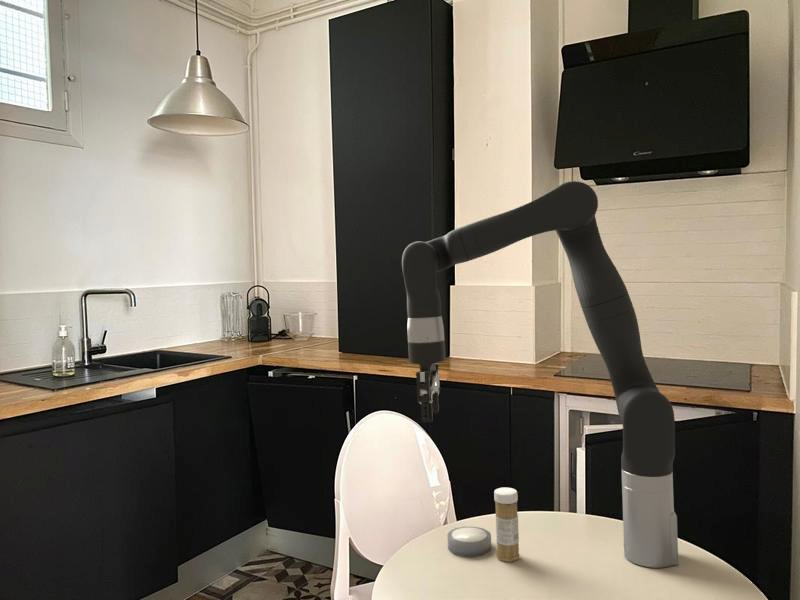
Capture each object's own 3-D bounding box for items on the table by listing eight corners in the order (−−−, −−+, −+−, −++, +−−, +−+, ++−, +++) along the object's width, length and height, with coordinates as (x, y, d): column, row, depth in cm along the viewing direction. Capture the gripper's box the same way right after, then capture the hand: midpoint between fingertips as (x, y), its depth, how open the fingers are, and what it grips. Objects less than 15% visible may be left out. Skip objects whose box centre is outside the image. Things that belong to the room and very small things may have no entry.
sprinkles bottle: (506, 550, 125) (504, 485, 124) (524, 557, 121) (522, 490, 121) (491, 557, 122) (489, 490, 121) (509, 565, 118) (506, 496, 118)
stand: (492, 539, 130) (492, 526, 130) (490, 557, 122) (489, 544, 122) (450, 537, 132) (450, 525, 132) (445, 555, 123) (444, 542, 123)
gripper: (439, 341, 118) (444, 425, 118) (448, 335, 132) (452, 410, 132) (401, 343, 120) (406, 425, 120) (414, 336, 134) (418, 410, 134)
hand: (430, 417), depth 126 cm, fingers open, 8 cm apart
